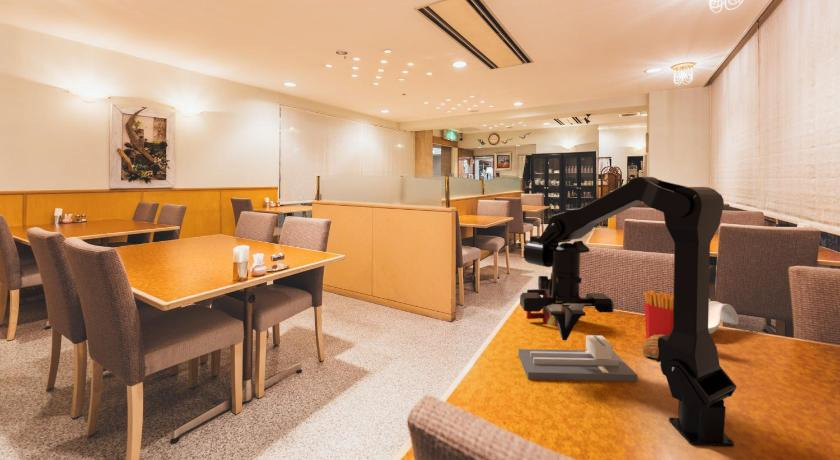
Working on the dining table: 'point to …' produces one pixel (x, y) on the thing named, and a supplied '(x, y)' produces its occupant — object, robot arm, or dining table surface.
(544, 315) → the mug
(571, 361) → the grey slider panel
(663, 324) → the french fries
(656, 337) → the pastry
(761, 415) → the dining table surface
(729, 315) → the spoon rest
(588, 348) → the block
